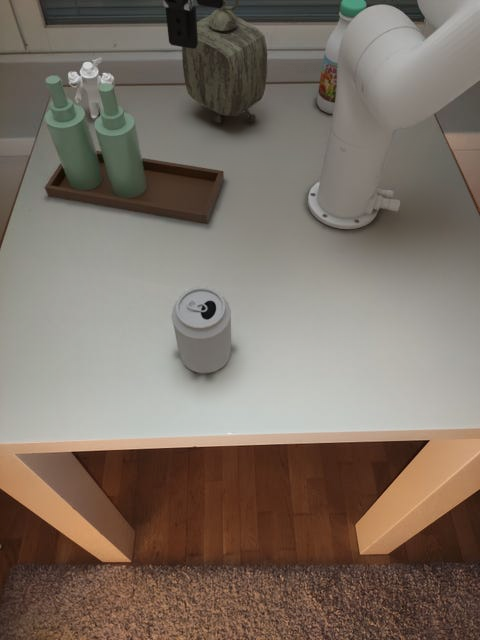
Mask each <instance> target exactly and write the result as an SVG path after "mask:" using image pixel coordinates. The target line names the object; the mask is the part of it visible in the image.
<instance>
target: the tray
mask: <svg viewBox="0 0 480 640" xmlns="http://www.w3.org/2000/svg"><path fill="white" fill-rule="evenodd" d="M96 152H97V156H98V159H99V162H100V166H101V169H102V173H103V181H102V183H101V184H100V185H99V186H97V187H96V188H94V189H91V190H87V191H81V190H75V189H73V188H72V187H71V186H70V185H69V183H68V180H67V178H66V175H65V172H64V170H63V167H62V164H61V162H60V164H59V165H58V166H57V167H56V169H55V171H54V172H53V174H52V175H51V177H50V178H49V180H48V182H47V183H46V184H45V186H44V190H45V192H46V195H47V196H48V197H51V198H54V199H55V198H56V199H61V200H66V201H67V200H68V201H74V202H78V203H85V204H91V205H95V206H101V207H107V208H113V209H118V210H124V211H130V212H136V213H141V214H148V215H154V216H159V217H163V218H170V219H175V220H182V221H186V222H187V221H188V222H191V223H192V222H193V223H198V224H203V225H204V224H205V225H208V224H209V221H210V218H211V216H212V213H213V210H214V209H215V205H216V202H217V200H218V198H219V194H220V192H221V188H222V187H223V183H224V181H225V176H224V175H225V173H224V170H221V169H220V170H219V169H213V168H208V167H201V166H195V165H189V164H183V163H175V162H170V161H164V160H157V159H151V158H145V157H142V161H143V166H144V171H145V176H146V181H147V188H146V190H145V191H144V192H143V193H142V194H141V195H139V196H137V197H134V198H121V197H118V196H117V195H115V194H114V193H113V191H112V188H111V184H110V181H109V177H108V174H107V170H106V166H105V163H104V159H103V156H102V152H101V150H96Z"/></svg>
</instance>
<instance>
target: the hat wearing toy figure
mask: <svg viewBox="0 0 480 640" xmlns="http://www.w3.org/2000/svg"><path fill="white" fill-rule="evenodd" d="M102 59H103V57H102V56H101V57H100V56H99V57H98V58H96V59H92V60H91V61H92V62H91V61H85V62H83V63H82V66H81V68H80V70H79V74H80V75H79V74H78V72H77V71H74V70H70V71H68V73H67V79H68V85H70V87H72V88H74V89H76V93H75V97H74V101H75V102H76V104H78V103H80V101H81V100H82V96H83V95H82V93H83V92H84V91H85V92H86V94H87V101H88V108H89V113H90V117H91V118H92V119H97V118H98V117H99V116H100V115H99V114H100V112H99V110H100V111H101V109H102V108H103V104H102V100H101V97H100V93H99V89H98V88H99V86H100V85H101V84H103V83H110V84H112V85H113V87H114V88H115V87H116V86H115V77H114V75H112V74H111V73H110V72H108V73H107V72H105V71H104V72H103V73H102V76H101V75H100V74H99V68H98V66H99V65H98V64H101V63H102V62H103V60H102ZM73 84H74V85H73ZM75 84H77V85H75ZM97 105H98V107H99V110H98V109H97Z"/></svg>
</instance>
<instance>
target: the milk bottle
mask: <svg viewBox="0 0 480 640" xmlns="http://www.w3.org/2000/svg"><path fill="white" fill-rule="evenodd" d="M366 8H367V2H366V1H365V0H341V1H340V5H339V12H338V15H339V19H338V22H337V23H336V25H335V28H334V29H333V31H332V32H331V34H330V35H329V38H328V39H327V43H326V45H325V49H324V54H323V60H322V67H321V71H320V78H319V84H318V89H317V90H318V92H317V97H316V103H317V107H318V108H319V109H320V110H321V111H322V112H324V113H326V114H330V115H333V111H334V105H335V98H336V88H337V66H338V54H339V48H340V44H341V40H342V37H343V35H344V32H345V30H346V28H347V27H348V25H349V24H350V22H351V21H352V20H353V19H354V17H355V16H357V15H358V14H359V13H360V12H361V11H363V10H364V9H366Z"/></svg>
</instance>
